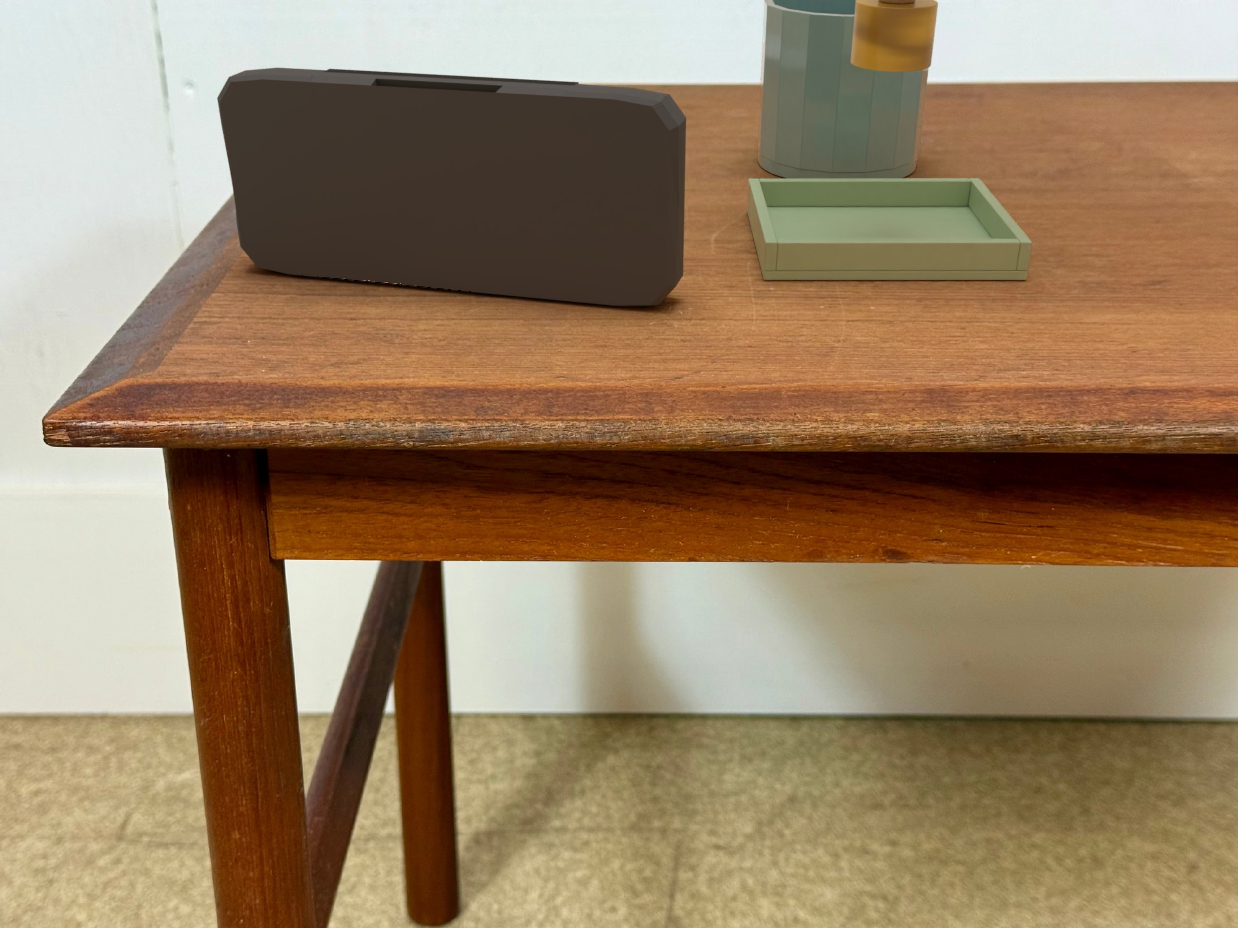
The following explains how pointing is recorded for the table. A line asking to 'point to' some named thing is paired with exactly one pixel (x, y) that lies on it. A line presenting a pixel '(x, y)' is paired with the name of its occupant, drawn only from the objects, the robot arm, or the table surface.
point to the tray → (884, 230)
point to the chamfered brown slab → (459, 182)
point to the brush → (893, 34)
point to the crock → (832, 99)
